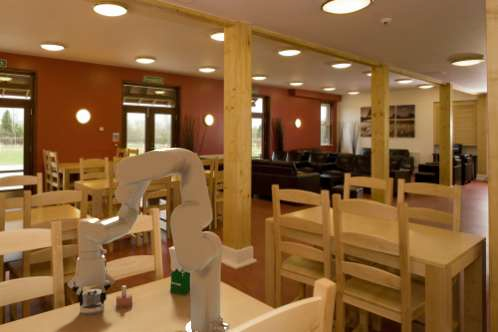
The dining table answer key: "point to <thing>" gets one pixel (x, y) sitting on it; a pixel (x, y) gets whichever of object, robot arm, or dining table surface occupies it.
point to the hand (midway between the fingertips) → (92, 302)
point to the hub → (91, 307)
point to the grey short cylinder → (91, 297)
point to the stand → (124, 299)
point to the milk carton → (178, 276)
